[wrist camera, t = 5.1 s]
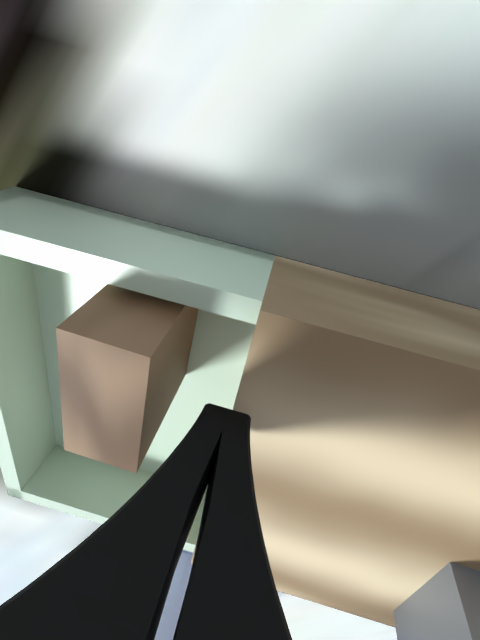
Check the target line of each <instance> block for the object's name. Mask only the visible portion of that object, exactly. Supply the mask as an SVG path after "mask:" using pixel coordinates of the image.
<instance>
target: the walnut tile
mask: <svg viewBox="0 0 480 640" xmlns="http://www.w3.org/2000/svg"><path fill="white" fill-rule="evenodd" d="M198 310H199V309H197V308H193V307H190V306H186V305H183V304H179V303H175V302H172V301H168V300H164V299H161V298H157V297H154V296H150V295H146V294H143V293H139V292H136V291H132V290H128V289H125V288H121V287H117V286H114V285H110V284H107V285H106V286H105V287H103V288H102V289H101V290H100V291H99V292H97V293H96V294H95V295H94V296H93V297H92V298H90V299H89V300H88V301H87V302H86V303H85V304H83V305H82V306H81V307H80V308H79V309H77V310H76V311H75V312H74V313H73V314H72V315H70V316H69V317H68V318H67V319H66V320H65V321H63V322H62V323H61V324H60V325H59V326H57V327H56V337H57V352H58V367H59V382H60V396H61V411H62V426H63V441H64V450H66V451H69V452H72V453H75V454H78V455H81V456H84V457H87V458H90V459H94V460H97V461H100V462H103V463H106V464H109V465H112V466H115V467H118V468H121V469H124V470H127V471H130V472H133V473H136V474H137V472H138V470H139V468H140V465H141V463H142V461H143V459H144V457H145V455H146V453H147V451H148V449H149V447H150V445H151V443H152V441H153V439H154V437H155V435H156V433H157V431H158V429H159V427H160V425H161V423H162V421H163V419H164V417H165V415H166V413H167V411H168V409H169V407H170V405H171V403H172V401H173V399H174V397H175V395H176V393H177V391H178V389H179V387H180V385H181V383H182V381H183V379H184V377H185V375H186V370H187V365H188V360H189V355H190V350H191V345H192V340H193V335H194V330H195V325H196V320H197V315H198Z"/></svg>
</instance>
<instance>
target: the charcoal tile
mask: <svg viewBox="0 0 480 640" xmlns="http://www.w3.org/2000/svg"><path fill="white" fill-rule="evenodd" d="M393 612H394V619H395V626H396V633H397V640H480V571H479V570H475V569H472V568H469V567H466V566H462V565H459V564H456V563H452V562H449V563H448V564H447V565H446V566H445V567H443V568H442V569H441V570H440V571H439V572H438V573H436V574H435V575H434V576H433V577H432V578H431V579H430V580H428V581H427V582H426V583H425V584H424V585H423V586H421V587H420V588H419V589H418V590H417V591H416V592H415V593H413V594H412V595H411V596H410V597H409V598H408V599H406V600H405V601H404V602H403V603H402V604H401V605H399V606H398V607H397V608H396V609H395V610H394V611H393Z"/></svg>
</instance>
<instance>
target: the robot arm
mask: <svg viewBox="0 0 480 640" xmlns="http://www.w3.org/2000/svg"><path fill="white" fill-rule="evenodd" d="M250 423H251V417H250V416H249V415H248V414H245V413H242V412H238V411H235V410H231V409H228V408H224V407H221V406H217V405H214V404H211V403H208V404H206V405H205V406H204V408H203V410H202V412H201V413H200V415H199V417H198V418H197V420H196V421H195V423H194V424H193V426H192V427H191V429H190V430H189V431H188V433H187V434H186V435H185V437H184V438H183V439H182V441H181V442H180V443H179V444H178V446H177V447H176V448H175V449H174V451H173V452H172V453H171V454H170V456H169V457H168V458H167V459H166V460H165V462H164V463H163V464H162V465H161V466H160V467H159V468H158V469H157V470H156V472H155V473H154V474H153V475H152V476H151V477H150V478H149V479H148V480H147V481H146V483H145V484H144V485H143V486H142V487H141V488H140V489H139V490H138V491H137V492H136V493H135V494H134V495H133V496H132V497H131V498H130V499H129V500H128V501H127V502H126V503H125V504H124V505H123V506H122V507H121V508H120V509H119V510H117V511H116V512H115V513H114V514H113V515H112V516H111V517H110V518H109V519H108V520H107V521H106V522H104V523H103V524H102V525H101V526H100V527H99V528H98V529H97V530H95V531H94V532H93V533H92V534H91V535H90V536H89V537H88V538H86V539H85V540H84V541H83V542H82V543H81V544H79V545H78V546H77V547H76V548H75V549H73V550H72V551H71V552H70V553H68V554H67V555H66V556H65V557H63V558H62V559H61V560H60V561H58V562H57V563H56V564H55V565H53V566H52V567H51V568H50V569H48V570H47V571H46V572H45V573H43V574H42V575H41V576H40V577H38V578H37V579H36V580H35V581H33V582H32V583H31V584H29V585H28V586H27V587H25V588H24V589H23V590H21V591H20V592H18V593H17V594H16V595H14V596H13V597H12V598H10V599H9V600H7V601H6V602H5V603H3V604H2V605H1V606H0V640H292V638H291V635H290V632H289V629H288V625H287V622H286V619H285V616H284V612H283V609H282V606H281V603H280V600H279V596H278V593H277V590H276V586H275V582H274V579H273V575H272V571H271V567H270V563H269V559H268V555H267V551H266V547H265V543H264V538H263V534H262V529H261V524H260V518H259V513H258V507H257V502H256V495H255V489H254V481H253V473H252V463H251V449H250ZM207 485H208V486H207ZM206 488H207V492H206V497H205V502H204V507H203V512H202V517H201V522H200V528H199V533H198V538H197V543H196V548H195V553H194V558H193V564H191V559H192V556H193V552H190V551H186V550H183V548H184V545H185V543H186V540H187V538H188V535H189V532H190V530H191V527H192V525H193V522H194V519H195V517H196V514H197V511H198V509H199V506H200V504H201V501H202V498H203V496H204V493H205V491H206Z"/></svg>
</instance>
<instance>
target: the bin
mask: <svg viewBox="0 0 480 640" xmlns="http://www.w3.org/2000/svg"><path fill="white" fill-rule="evenodd" d="M274 258H275V255H272V254H268V253H264V252H260V251H257V250H253V249H249V248H245V247H242V246H238V245H234V244H230V243H227V242H223V241H219V240H215V239H211V238H208V237H204V236H200V235H196V234H193V233H189V232H185V231H181V230H178V229H174V228H170V227H166V226H163V225H159V224H155V223H151V222H147V221H144V220H140V219H136V218H132V217H129V216H125V215H121V214H117V213H114V212H110V211H106V210H102V209H99V208H95V207H91V206H87V205H83V204H80V203H76V202H72V201H68V200H65V199H61V198H57V197H53V196H50V195H46V194H42V193H38V192H35V191H31V190H27V189H23V188H20V187H16V186H14V187H10V188H7V189H3V190H0V467H1V470H2V474H3V477H4V481H5V484H6V488H7V492H8V495H9V496H13V497H16V498H19V499H22V500H26V501H29V502H32V503H35V504H38V505H42V506H45V507H48V508H51V509H55V510H58V511H61V512H64V513H67V514H71V515H74V516H77V517H80V518H84V519H87V520H90V521H93V522H96V523H100V524H103V523H104V522H106V521H107V520H108V519H109V518H110V517H111V516H112V515H113V514H114V513H115V512H116V511H117V510H119V509H120V508H121V507H122V506H123V505H124V504H125V503H126V502H127V501H128V500H129V499H130V498H131V497H132V496H133V495H134V494H135V493H136V492H137V491H138V490H139V489H140V488H141V487H142V486H143V485H144V484H145V483H146V481H147V480H148V479H149V478H150V477H151V476H152V475H153V474H154V473H155V472H156V470H157V469H158V468H159V467H160V466H161V465H162V464H163V463H164V462H165V460H166V459H167V458H168V457H169V456H170V454H171V453H172V452H173V451H174V449H175V448H176V447H177V446H178V444H179V443H180V442H181V441H182V439H183V438H184V437H185V435H186V434H187V433H188V431H189V430H190V429H191V427H192V426H193V424H194V423H195V421H196V420H197V418H198V417H199V415H200V413H201V412H202V410H203V408H204V406H205V405H206V404H208V403H211V404H214V405H217V406H221V407H224V408H228V409H231V410H233V406H234V403H235V399H236V395H237V392H238V388H239V385H240V381H241V377H242V374H243V370H244V366H245V363H246V359H247V355H248V352H249V348H250V345H251V341H252V337H253V334H254V330H255V326H256V323H257V319H258V315H259V312H260V308H261V305H262V301H263V297H264V294H265V290H266V287H267V283H268V280H269V276H270V272H271V269H272V265H273V262H274ZM107 284H110V285H114V286H117V287H121V288H125V289H128V290H132V291H136V292H139V293H143V294H146V295H150V296H154V297H157V298H161V299H164V300H168V301H172V302H175V303H179V304H183V305H186V306H190V307H193V308H197V309H199V310H198V315H197V320H196V325H195V330H194V335H193V340H192V345H191V350H190V355H189V360H188V365H187V370H186V375H185V377H184V379H183V381H182V383H181V385H180V387H179V389H178V391H177V393H176V395H175V397H174V399H173V401H172V403H171V405H170V407H169V409H168V411H167V413H166V415H165V417H164V419H163V421H162V423H161V425H160V427H159V429H158V431H157V433H156V435H155V437H154V439H153V441H152V443H151V445H150V447H149V449H148V451H147V453H146V455H145V457H144V459H143V461H142V463H141V465H140V468H139V470H138V472H137V474H136V473H133V472H130V471H127V470H124V469H121V468H118V467H115V466H112V465H109V464H106V463H103V462H100V461H97V460H94V459H90V458H87V457H84V456H81V455H78V454H75V453H72V452H69V451H66V450H64V441H63V426H62V411H61V396H60V382H59V367H58V352H57V337H56V327H57V326H59V325H60V324H61V323H62V322H63V321H65V320H66V319H67V318H68V317H69V316H70V315H72V314H73V313H74V312H75V311H76V310H77V309H79V308H80V307H81V306H82V305H83V304H85V303H86V302H87V301H88V300H89V299H90V298H92V297H93V296H94V295H95V294H96V293H97V292H99V291H100V290H101V289H102V288H103V287H105V286H106V285H107ZM207 486H208V485H207ZM206 492H207V488H206V491H205V493H204V496H203V498H202V501H201V504H200V506H199V509H198V511H197V514H196V517H195V519H194V522H193V525H192V527H191V530H190V532H189V535H188V538H187V540H186V543H185V545H184V548H183V550H186V551H190V552H194V548H195V545H196V541H197V537H198V533H199V528H200V522H201V517H202V512H203V507H204V502H205V497H206Z"/></svg>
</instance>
